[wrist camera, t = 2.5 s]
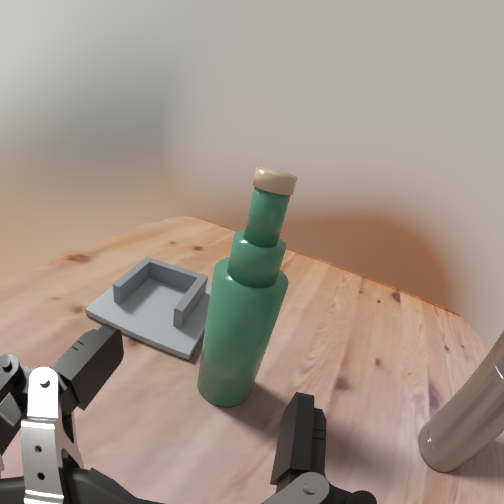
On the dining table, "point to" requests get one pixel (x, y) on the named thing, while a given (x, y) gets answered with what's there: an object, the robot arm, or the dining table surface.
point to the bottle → (246, 295)
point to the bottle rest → (157, 306)
